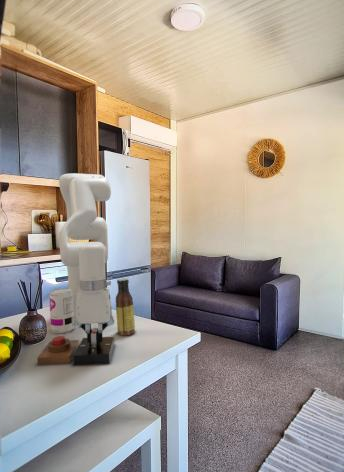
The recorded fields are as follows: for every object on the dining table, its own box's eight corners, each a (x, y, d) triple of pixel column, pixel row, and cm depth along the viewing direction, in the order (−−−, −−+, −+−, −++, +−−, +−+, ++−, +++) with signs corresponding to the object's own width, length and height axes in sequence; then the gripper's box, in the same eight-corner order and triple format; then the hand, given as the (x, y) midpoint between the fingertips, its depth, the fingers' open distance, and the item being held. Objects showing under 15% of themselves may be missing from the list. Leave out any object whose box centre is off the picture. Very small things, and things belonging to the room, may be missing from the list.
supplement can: (52, 335, 110) (50, 294, 109) (49, 328, 117) (48, 290, 116) (75, 331, 114) (74, 291, 113) (72, 325, 121) (70, 287, 120)
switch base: (83, 346, 100) (82, 337, 100) (114, 345, 101) (114, 335, 100) (73, 365, 87) (73, 355, 87) (109, 363, 88) (109, 353, 87)
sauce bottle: (136, 330, 114) (135, 277, 113) (132, 336, 108) (131, 280, 106) (119, 329, 115) (117, 277, 113) (114, 336, 109) (112, 280, 107)
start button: (54, 341, 95) (54, 336, 95) (66, 341, 96) (66, 335, 95) (51, 346, 92) (51, 340, 92) (63, 345, 92) (63, 340, 92)
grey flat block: (94, 342, 96) (93, 327, 95) (98, 342, 96) (98, 327, 96) (91, 348, 91) (90, 332, 91) (96, 348, 91) (95, 332, 91)
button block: (50, 347, 99) (50, 335, 99) (78, 346, 100) (78, 334, 100) (37, 365, 88) (36, 351, 87) (69, 363, 88) (69, 350, 88)
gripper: (120, 281, 97) (122, 338, 98) (69, 283, 95) (71, 341, 97) (118, 287, 89) (120, 348, 90) (63, 288, 88) (65, 351, 89)
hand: (95, 344), depth 94 cm, fingers closed on grey flat block
